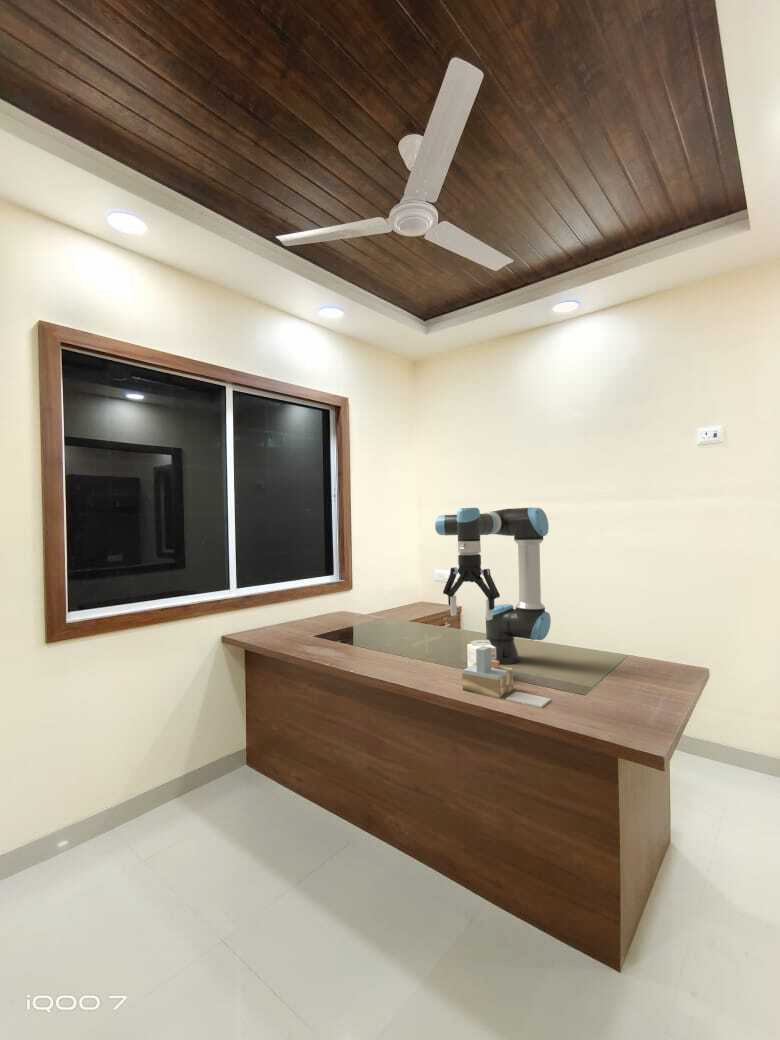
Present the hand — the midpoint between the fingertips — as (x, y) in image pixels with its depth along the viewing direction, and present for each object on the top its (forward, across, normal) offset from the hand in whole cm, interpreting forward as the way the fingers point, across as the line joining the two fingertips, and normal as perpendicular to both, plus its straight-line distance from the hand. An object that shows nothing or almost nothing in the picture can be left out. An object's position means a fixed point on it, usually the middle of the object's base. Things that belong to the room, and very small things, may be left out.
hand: (471, 617), depth 159 cm
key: (+20, -1, +15) cm, 25 cm away
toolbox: (+28, -1, +12) cm, 30 cm away
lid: (+23, -1, +11) cm, 25 cm away
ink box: (+28, -10, +24) cm, 38 cm away
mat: (+28, +15, +10) cm, 33 cm away
